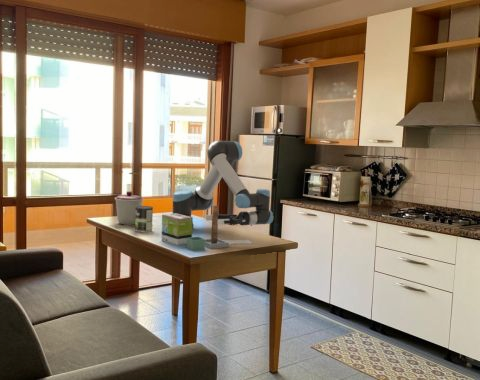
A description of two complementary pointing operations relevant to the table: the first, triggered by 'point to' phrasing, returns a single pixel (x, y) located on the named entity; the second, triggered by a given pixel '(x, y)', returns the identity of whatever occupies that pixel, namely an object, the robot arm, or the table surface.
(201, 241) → the cup
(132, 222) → the canister
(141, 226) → the coffee can
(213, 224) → the dowel
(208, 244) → the tray
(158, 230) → the table surface
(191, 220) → the tea box
